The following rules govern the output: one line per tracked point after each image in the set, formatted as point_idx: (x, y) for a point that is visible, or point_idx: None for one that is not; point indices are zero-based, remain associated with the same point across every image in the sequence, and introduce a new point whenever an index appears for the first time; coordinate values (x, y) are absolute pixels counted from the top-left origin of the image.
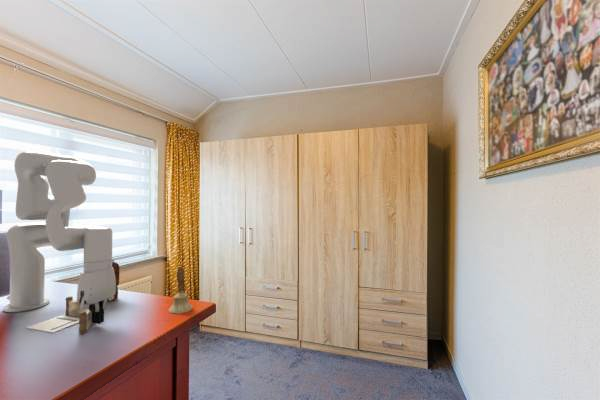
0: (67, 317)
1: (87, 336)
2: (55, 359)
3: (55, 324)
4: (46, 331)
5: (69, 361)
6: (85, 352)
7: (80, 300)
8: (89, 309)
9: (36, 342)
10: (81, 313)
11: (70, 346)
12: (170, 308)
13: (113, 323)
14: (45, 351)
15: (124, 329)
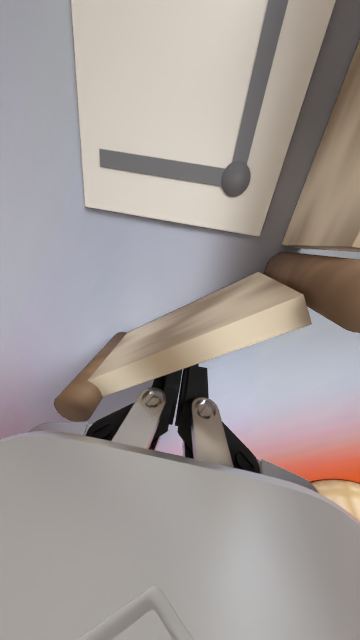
0: (310, 13)
1: None
2: (5, 378)
3: (166, 79)
4: (83, 142)
5: (19, 407)
6: (55, 413)
7: (20, 457)
8: (118, 417)
9: (11, 223)
10: (64, 406)
11: (55, 366)
12: (326, 495)
13: (217, 384)
14: (6, 323)
15: (177, 430)
